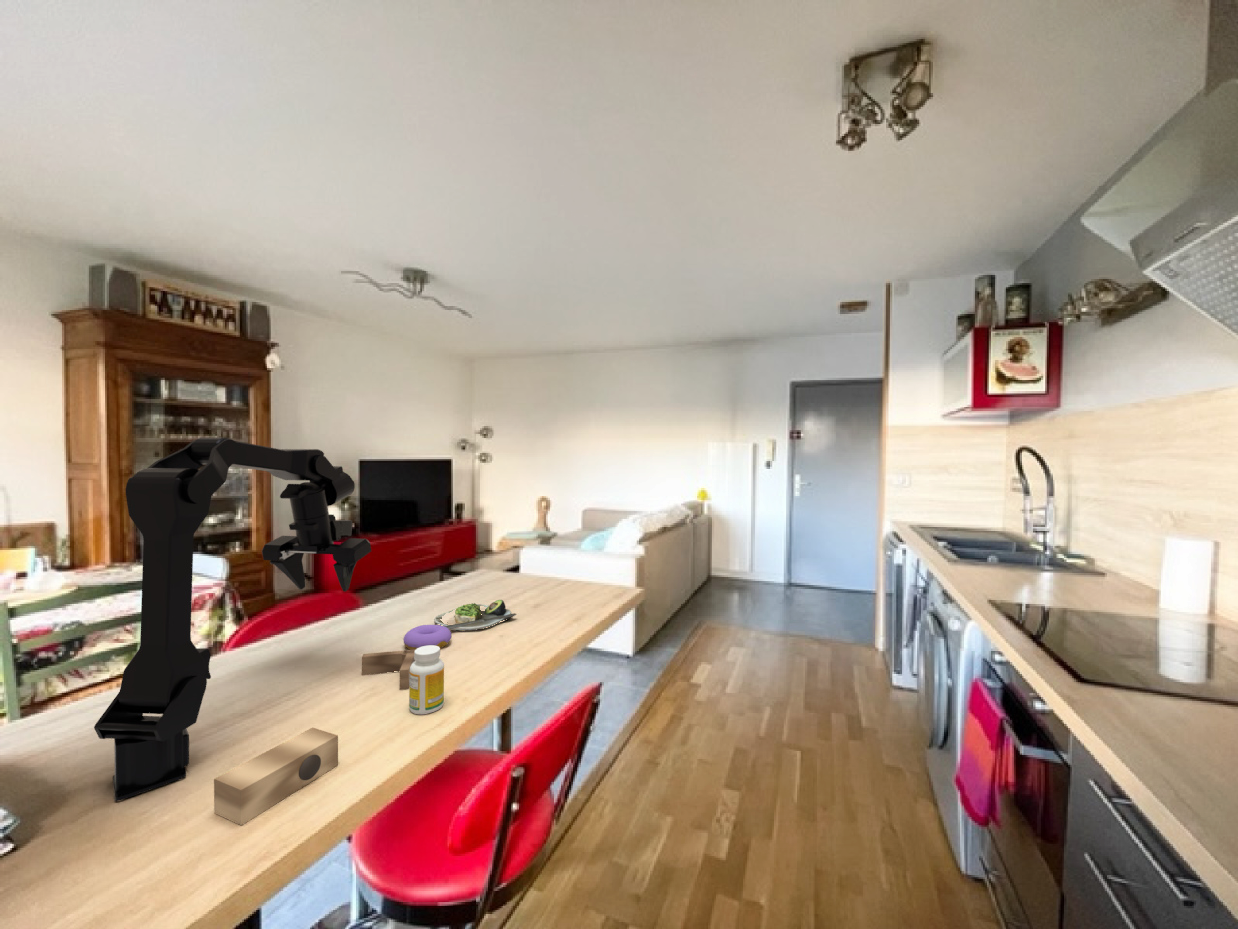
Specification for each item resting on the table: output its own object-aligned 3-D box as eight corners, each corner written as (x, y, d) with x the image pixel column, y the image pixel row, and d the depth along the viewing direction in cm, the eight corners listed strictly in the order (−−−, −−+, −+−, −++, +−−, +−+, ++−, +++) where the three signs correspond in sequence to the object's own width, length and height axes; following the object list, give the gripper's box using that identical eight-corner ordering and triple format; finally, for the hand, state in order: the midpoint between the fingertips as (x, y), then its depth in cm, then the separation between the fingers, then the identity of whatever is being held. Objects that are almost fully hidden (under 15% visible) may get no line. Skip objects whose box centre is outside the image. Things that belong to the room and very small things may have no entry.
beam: (242, 826, 56) (242, 790, 56) (214, 813, 58) (214, 778, 58) (339, 765, 67) (339, 735, 67) (312, 756, 69) (312, 727, 69)
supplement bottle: (404, 716, 80) (404, 656, 80) (415, 700, 85) (415, 644, 85) (439, 714, 80) (439, 655, 80) (447, 698, 86) (447, 643, 86)
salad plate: (469, 642, 113) (470, 622, 113) (414, 629, 121) (414, 610, 121) (524, 618, 130) (524, 600, 130) (472, 608, 138) (472, 591, 138)
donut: (394, 652, 105) (396, 628, 106) (413, 645, 114) (415, 623, 115) (441, 653, 105) (443, 629, 106) (456, 646, 114) (458, 624, 115)
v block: (403, 691, 88) (403, 671, 88) (358, 674, 95) (358, 655, 95) (440, 674, 95) (440, 656, 95) (395, 659, 102) (395, 642, 102)
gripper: (382, 501, 101) (391, 572, 104) (296, 499, 103) (309, 568, 107) (346, 522, 90) (359, 599, 94) (252, 518, 92) (268, 595, 96)
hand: (324, 589), depth 98 cm, fingers open, 9 cm apart
